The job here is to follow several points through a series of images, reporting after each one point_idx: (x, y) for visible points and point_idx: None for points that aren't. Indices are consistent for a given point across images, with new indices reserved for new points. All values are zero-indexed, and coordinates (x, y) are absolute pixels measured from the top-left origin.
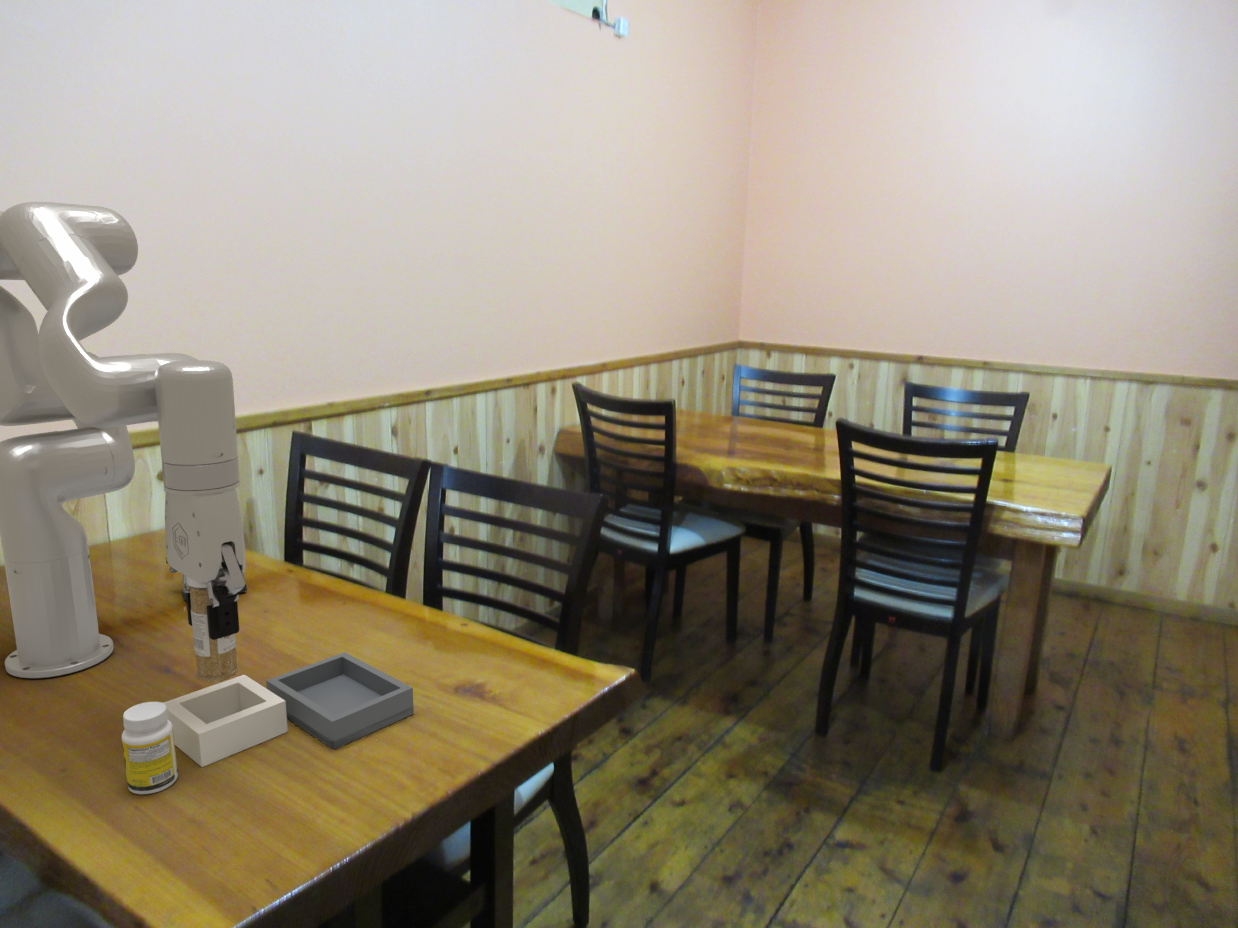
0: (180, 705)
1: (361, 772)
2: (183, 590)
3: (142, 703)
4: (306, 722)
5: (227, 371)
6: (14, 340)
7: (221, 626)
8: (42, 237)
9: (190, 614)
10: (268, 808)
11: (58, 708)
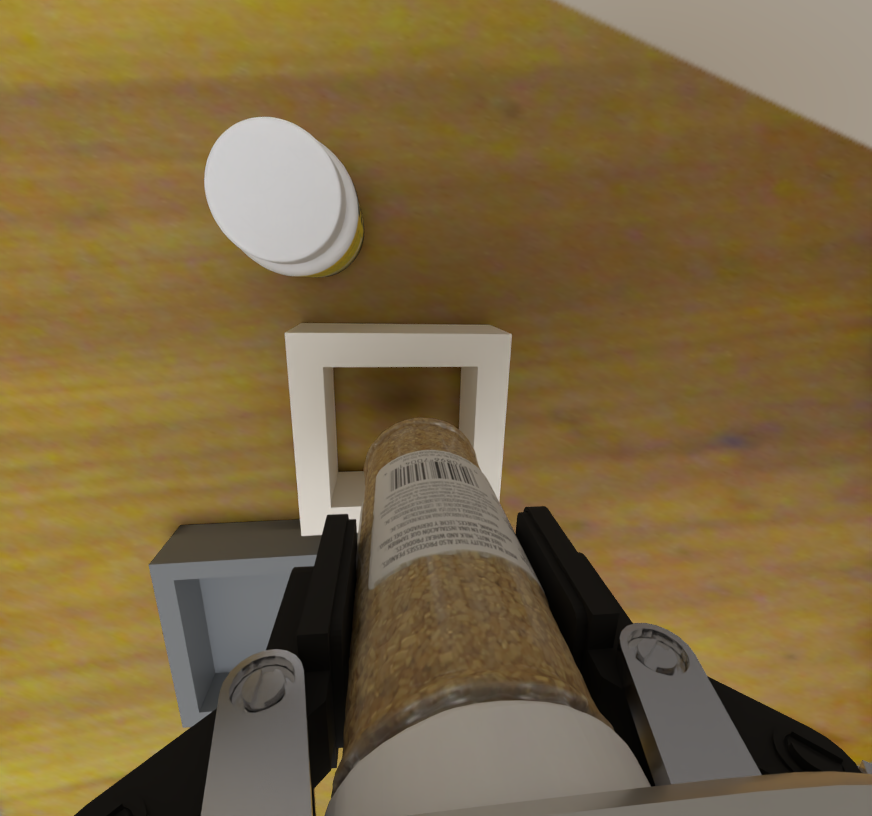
0: (464, 364)
1: (58, 523)
2: None
3: (334, 211)
4: (279, 531)
5: None
6: None
7: (287, 584)
8: None
9: (544, 538)
10: (42, 344)
11: (775, 219)
